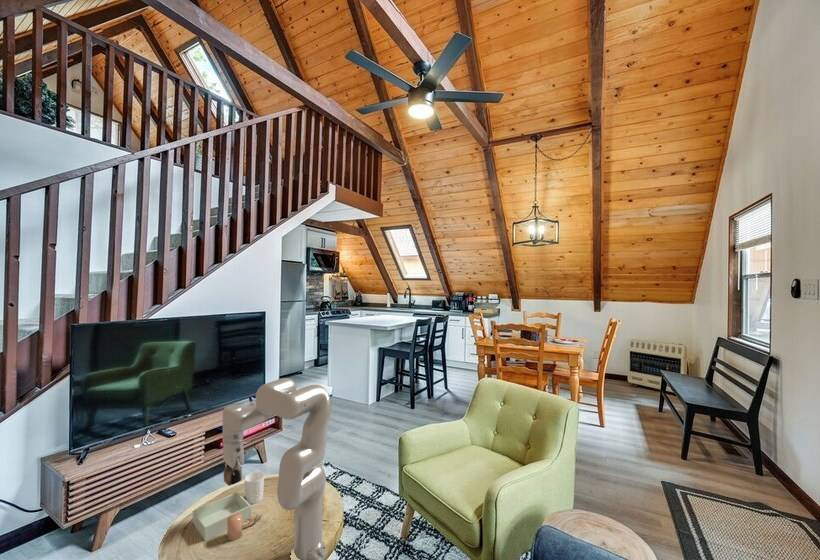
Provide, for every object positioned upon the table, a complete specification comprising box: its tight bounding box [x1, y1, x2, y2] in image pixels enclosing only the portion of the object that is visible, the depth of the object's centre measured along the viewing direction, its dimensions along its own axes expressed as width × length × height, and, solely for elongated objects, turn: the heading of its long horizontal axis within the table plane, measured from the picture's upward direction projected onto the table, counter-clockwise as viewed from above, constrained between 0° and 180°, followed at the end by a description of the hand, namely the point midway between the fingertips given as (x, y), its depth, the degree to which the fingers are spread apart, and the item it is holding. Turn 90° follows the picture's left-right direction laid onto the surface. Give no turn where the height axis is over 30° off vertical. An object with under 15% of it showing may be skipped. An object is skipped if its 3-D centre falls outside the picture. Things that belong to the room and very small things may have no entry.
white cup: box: [244, 471, 265, 505], centre depth 159 cm, size 8×8×10 cm
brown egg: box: [226, 513, 243, 542], centre depth 137 cm, size 5×5×7 cm
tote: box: [192, 491, 252, 542], centre depth 145 cm, size 13×17×5 cm
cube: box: [223, 464, 243, 487], centre depth 148 cm, size 5×5×5 cm
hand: (232, 479), depth 148 cm, fingers closed on cube, 5 cm apart
